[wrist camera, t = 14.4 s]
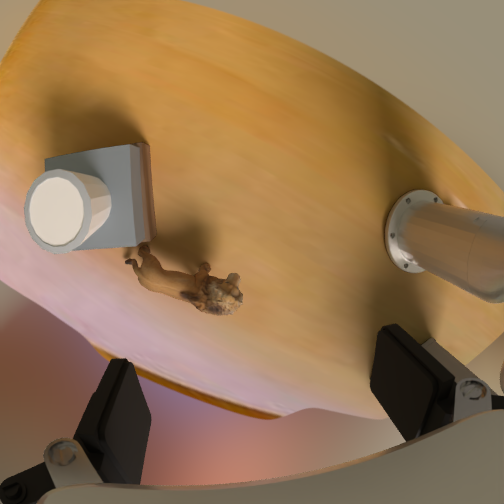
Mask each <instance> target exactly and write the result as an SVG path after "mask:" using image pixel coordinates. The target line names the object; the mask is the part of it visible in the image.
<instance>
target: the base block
mask: <svg viewBox="0 0 504 504" xmlns="http://www.w3.org/2000/svg"><path fill="white" fill-rule="evenodd" d="M127 145H128V144H127ZM130 145H133V146H136V147H139V148H140V175H141V194H142V208H143V221H144V232H145V239H144V240H143V241H142V242H149V241H151V240H152V239H153V238H154V237H155V236H156V235H157V230H156V221H155V211H154V200H153V188H152V175H151V159H150V146H149V145H147V144H145V143H143V142H141V143H134V144H130Z"/></svg>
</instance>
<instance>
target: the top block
mask: <svg viewBox="0 0 504 504" xmlns="http://www.w3.org/2000/svg"><path fill="white" fill-rule="evenodd" d="M56 169H62V170H67V171H72V172H77V173H82V174H86V175H90V176H94V177H97V178H99V179H100V180H101V181H102V182H103V183H105V184H106V186H107V188H108V190H109V192H110V194H111V205H112V206H111V210H110V214H109V217H108V218H107V220H106V221H105V222H104V224H103V225H102V226H101V227H100V228H99V229H97V230H96V231H95V232H94V233H93V234H92V235H91V236H90V237H88V238H87V239H86V240H85V241H84V242H83V243H82V244H81V245H80V246H78V247H77V248H75V249H73V250H72V251H75V250H89V249H103V248H118V247H133V246H137V245H138V244H139V243H140V242H142V241H143V240H144V239H145V232H144V221H143V208H142V194H141V175H140V148H139V147H136V146H133V145H130V144H128V145H121V146H113V147H107V148H100V149H94V150H88V151H82V152H77V153H71V154H66V155H61V156H56V157H52V158H47V159H45V172H46V171H51V170H56Z"/></svg>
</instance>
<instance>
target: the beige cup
mask: <svg viewBox="0 0 504 504" xmlns="http://www.w3.org/2000/svg"><path fill="white" fill-rule="evenodd" d="M111 206H112V205H111V194H110V192H109V190H108V188H107V186H106V184H105V183H103V182H102V181H101V180H100V179H99V178H97V177H94V176H90V175H86V174H82V173H77V172H72V171H67V170H62V169H56V170H51V171H46V172H45V173H43V174H42V175H41V176H39V177H38V178H37V179H35V180H34V182H33V184H32V185H31V187H30V189H29V191H28V192H27V196H26V201H25V206H24V214H25V222H26V226H27V229H28V231H29V233H30V235H31V237H32V239H33V240H34V241H35V242H36V243H37V244H38V245H39V246H40V247H41V248H42V249H44V250H46V251H48V252H51V253H53V254H62V253H69V252H70V251H72V250H73V249H75V248H77V247H78V246H80V245H81V244H82V243H83V242H84V241H85V240H86V239H87V238H88V237H90V236H91V235H92V234H93V233H94V232H95V231H96V230H97V229H99V228H100V227H101V226H102V225H103V224H104V222H105V221H106V220H107V218H108V217H109V214H110V210H111Z"/></svg>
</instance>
